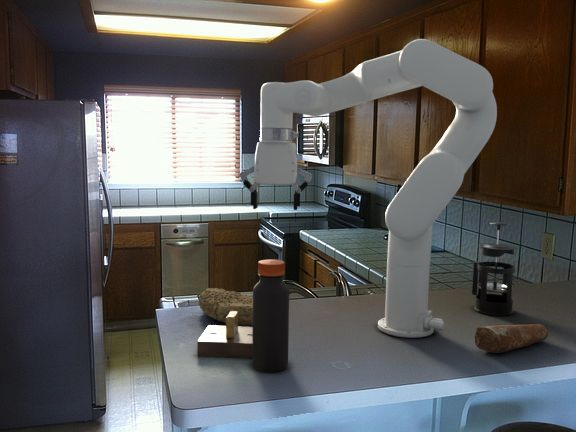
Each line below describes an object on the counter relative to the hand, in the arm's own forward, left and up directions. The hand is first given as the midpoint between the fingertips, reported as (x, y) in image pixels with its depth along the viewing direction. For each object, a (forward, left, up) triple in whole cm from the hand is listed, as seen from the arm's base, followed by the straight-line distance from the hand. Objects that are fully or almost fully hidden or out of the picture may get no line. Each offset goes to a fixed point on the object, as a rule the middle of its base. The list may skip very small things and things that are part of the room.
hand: (275, 208), depth 134 cm
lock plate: (-6, +23, -26) cm, 35 cm away
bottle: (-18, +26, -26) cm, 41 cm away
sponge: (+6, +9, -26) cm, 29 cm away
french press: (-42, -38, -26) cm, 63 cm away
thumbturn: (-6, +23, -23) cm, 33 cm away
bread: (-52, -13, -26) cm, 60 cm away
